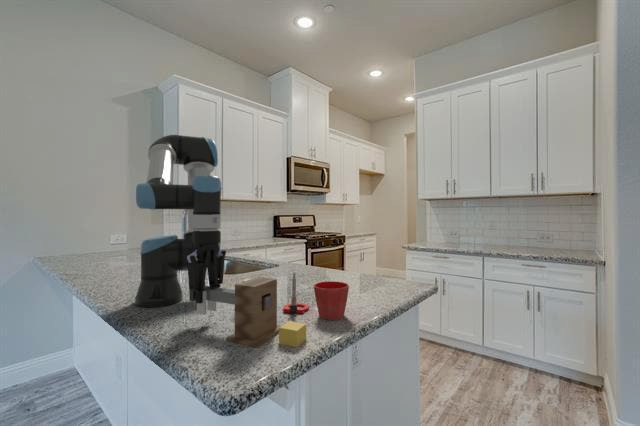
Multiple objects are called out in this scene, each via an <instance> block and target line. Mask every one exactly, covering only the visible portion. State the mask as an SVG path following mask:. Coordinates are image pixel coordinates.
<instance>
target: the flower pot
mask: <svg viewBox="0 0 640 426" xmlns="http://www.w3.org/2000/svg"><path fill="white" fill-rule="evenodd" d="M349 289H350V285H349V283H348V282H347V283H346V282H343V281H334V280H333V281H329V280H328V281H320V282H317V283H314V285H313V291H314V295H315V302H316V307H317V311H318V316H319V318H321V319H323V320H331V321H333V320H334V321H335V320H336V321H337V320H340V319H342V318H344V316H345V312H346V307H347V301H348V296H349Z"/></svg>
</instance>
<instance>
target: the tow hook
mask: <svg viewBox="0 0 640 426" xmlns="http://www.w3.org/2000/svg"><path fill="white" fill-rule="evenodd" d="M296 273H297V272H293V273H292V280H291V281H292V284H291V299H290V301H291V303H288V304H284V305H283V309H282V312H283V314H284V313H285V314H294V313H297V314H301V315H302V314H303V315H304V314H305V312H308V311H309V309H310V305H308V304H305V303H299V302H298V303H297V278H296V276H297V275H296ZM299 306H300V307H299ZM298 307H299V308H298Z"/></svg>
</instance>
